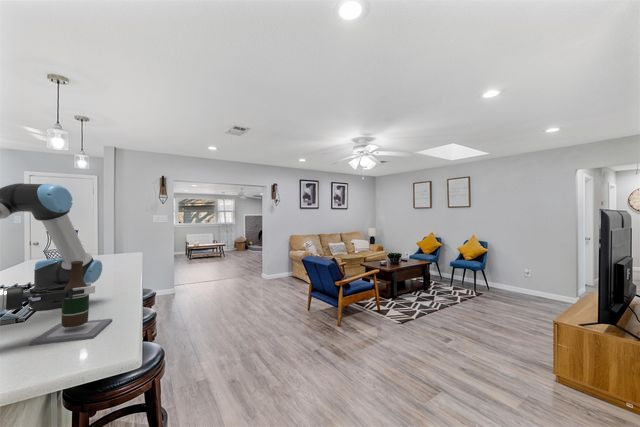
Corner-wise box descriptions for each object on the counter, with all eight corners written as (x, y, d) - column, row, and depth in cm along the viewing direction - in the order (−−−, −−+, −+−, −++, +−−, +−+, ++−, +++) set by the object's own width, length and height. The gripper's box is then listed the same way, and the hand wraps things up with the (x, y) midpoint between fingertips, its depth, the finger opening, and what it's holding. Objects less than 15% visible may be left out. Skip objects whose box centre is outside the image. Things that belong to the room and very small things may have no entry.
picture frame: (59, 325, 111) (59, 323, 111) (112, 320, 117) (112, 318, 117) (29, 345, 94) (29, 342, 94) (93, 338, 100) (93, 335, 100)
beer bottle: (72, 328, 101) (74, 263, 102) (55, 326, 102) (57, 262, 103) (93, 321, 108) (95, 260, 109) (77, 319, 110) (79, 259, 111)
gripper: (4, 304, 99) (87, 292, 116) (5, 318, 86) (98, 302, 103) (5, 283, 99) (88, 274, 116) (6, 293, 86) (98, 281, 103)
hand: (92, 287), depth 110 cm, fingers closed on beer bottle, 7 cm apart
